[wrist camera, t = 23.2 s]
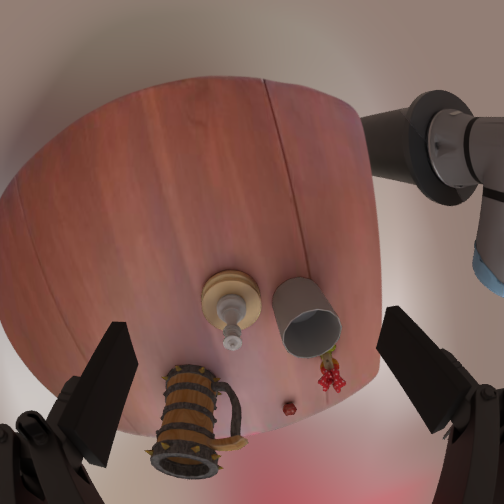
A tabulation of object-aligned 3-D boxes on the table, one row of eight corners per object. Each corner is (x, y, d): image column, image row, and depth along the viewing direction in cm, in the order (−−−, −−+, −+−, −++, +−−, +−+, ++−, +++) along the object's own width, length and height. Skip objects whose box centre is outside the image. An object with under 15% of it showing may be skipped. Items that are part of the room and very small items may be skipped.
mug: (148, 369, 48) (125, 451, 29) (227, 345, 47) (230, 438, 28) (181, 407, 52) (173, 483, 34) (254, 388, 51) (265, 471, 33)
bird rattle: (338, 342, 52) (330, 324, 46) (360, 388, 44) (357, 378, 38) (310, 356, 52) (298, 340, 46) (330, 403, 44) (321, 395, 38)
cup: (288, 269, 43) (304, 300, 34) (329, 288, 45) (352, 319, 36) (263, 311, 45) (271, 349, 36) (304, 327, 47) (319, 363, 38)
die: (281, 409, 55) (284, 419, 52) (281, 401, 54) (284, 411, 51) (294, 407, 55) (297, 417, 52) (295, 399, 54) (297, 409, 51)
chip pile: (272, 291, 44) (275, 300, 41) (236, 329, 46) (237, 340, 43) (224, 257, 42) (224, 264, 39) (190, 300, 44) (187, 310, 41)
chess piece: (217, 292, 40) (214, 332, 31) (247, 293, 41) (252, 333, 31) (216, 317, 42) (214, 360, 32) (245, 318, 42) (249, 361, 33)
